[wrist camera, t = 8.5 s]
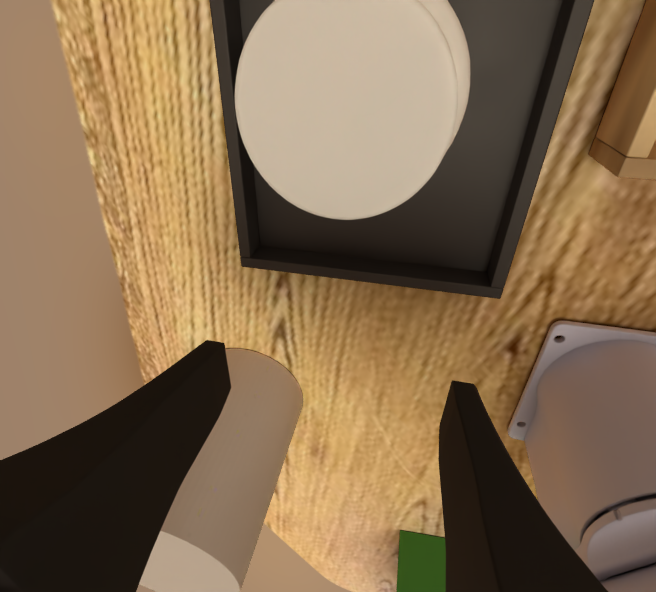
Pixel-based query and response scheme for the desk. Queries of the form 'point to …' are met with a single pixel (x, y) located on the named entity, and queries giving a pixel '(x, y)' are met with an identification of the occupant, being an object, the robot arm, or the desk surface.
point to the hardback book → (421, 563)
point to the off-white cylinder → (228, 482)
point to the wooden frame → (632, 108)
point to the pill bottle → (351, 100)
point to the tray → (449, 178)
